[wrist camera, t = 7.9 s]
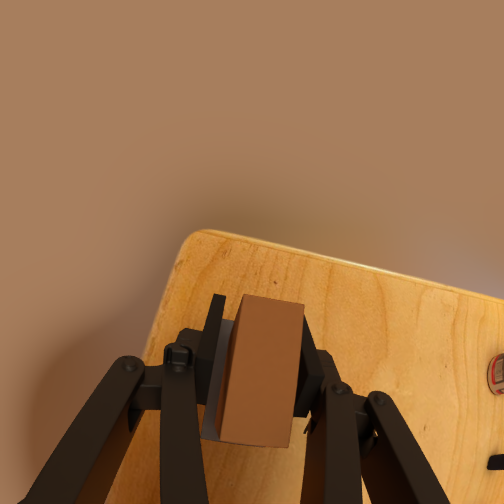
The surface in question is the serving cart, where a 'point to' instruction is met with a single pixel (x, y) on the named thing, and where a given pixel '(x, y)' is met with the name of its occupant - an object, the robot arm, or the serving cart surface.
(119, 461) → the robot arm
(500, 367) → the pill bottle
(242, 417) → the chalk eraser
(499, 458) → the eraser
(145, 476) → the serving cart surface
